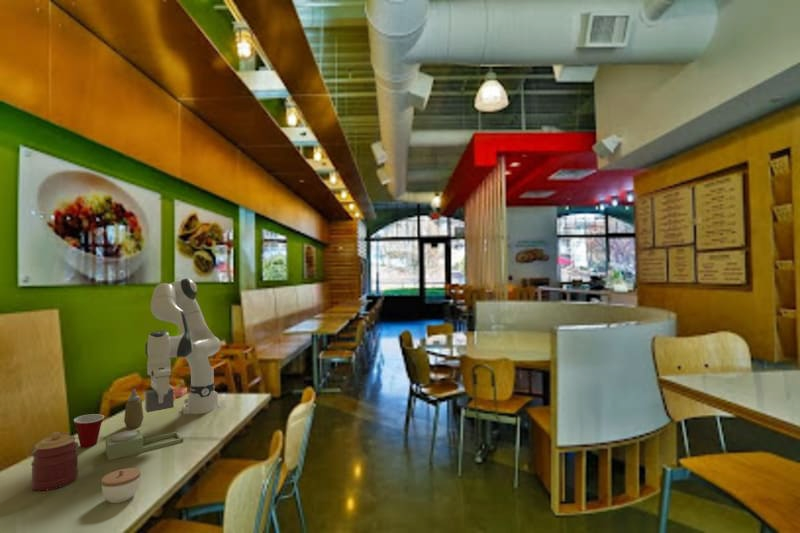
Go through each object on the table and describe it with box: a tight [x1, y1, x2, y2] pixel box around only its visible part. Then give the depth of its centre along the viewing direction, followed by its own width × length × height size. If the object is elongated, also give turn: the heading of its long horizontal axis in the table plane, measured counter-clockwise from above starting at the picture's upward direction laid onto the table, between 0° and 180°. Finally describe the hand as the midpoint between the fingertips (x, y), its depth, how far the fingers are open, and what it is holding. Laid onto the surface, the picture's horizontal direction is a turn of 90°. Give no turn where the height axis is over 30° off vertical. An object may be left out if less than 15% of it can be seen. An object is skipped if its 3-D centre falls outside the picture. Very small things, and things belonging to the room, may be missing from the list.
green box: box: [105, 430, 184, 461], centre depth 181 cm, size 12×27×7 cm, turn 128°
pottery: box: [169, 383, 188, 402], centre depth 254 cm, size 18×10×10 cm, turn 7°
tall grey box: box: [144, 387, 174, 413], centre depth 184 cm, size 5×10×8 cm, turn 128°
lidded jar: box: [100, 467, 141, 504], centre depth 139 cm, size 11×11×9 cm
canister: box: [30, 431, 79, 491], centre depth 151 cm, size 13×13×18 cm
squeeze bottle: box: [123, 388, 145, 429], centre depth 206 cm, size 8×8×18 cm
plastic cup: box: [73, 413, 105, 449], centre depth 184 cm, size 11×11×12 cm
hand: (159, 401), depth 184 cm, fingers closed on tall grey box, 5 cm apart
